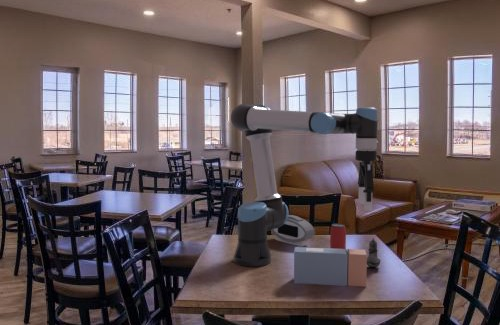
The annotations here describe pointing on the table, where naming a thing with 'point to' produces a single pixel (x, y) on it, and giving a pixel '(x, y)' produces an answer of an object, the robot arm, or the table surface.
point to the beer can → (338, 236)
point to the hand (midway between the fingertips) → (364, 207)
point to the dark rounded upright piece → (373, 256)
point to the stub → (356, 267)
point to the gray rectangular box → (320, 266)
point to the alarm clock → (294, 231)
